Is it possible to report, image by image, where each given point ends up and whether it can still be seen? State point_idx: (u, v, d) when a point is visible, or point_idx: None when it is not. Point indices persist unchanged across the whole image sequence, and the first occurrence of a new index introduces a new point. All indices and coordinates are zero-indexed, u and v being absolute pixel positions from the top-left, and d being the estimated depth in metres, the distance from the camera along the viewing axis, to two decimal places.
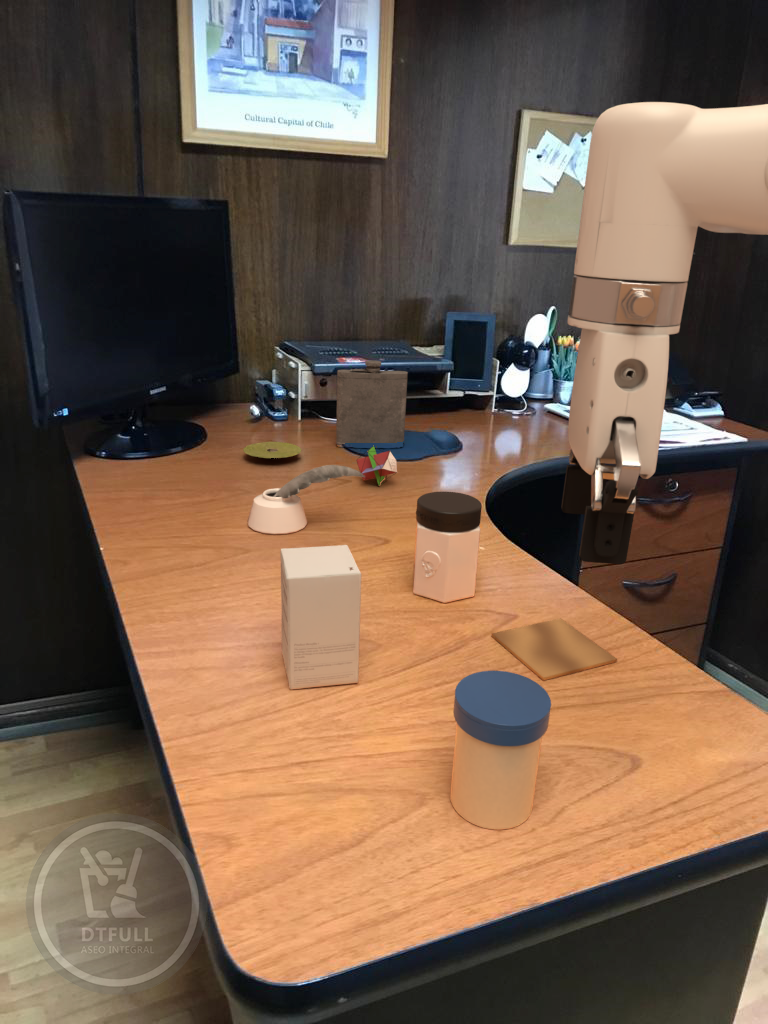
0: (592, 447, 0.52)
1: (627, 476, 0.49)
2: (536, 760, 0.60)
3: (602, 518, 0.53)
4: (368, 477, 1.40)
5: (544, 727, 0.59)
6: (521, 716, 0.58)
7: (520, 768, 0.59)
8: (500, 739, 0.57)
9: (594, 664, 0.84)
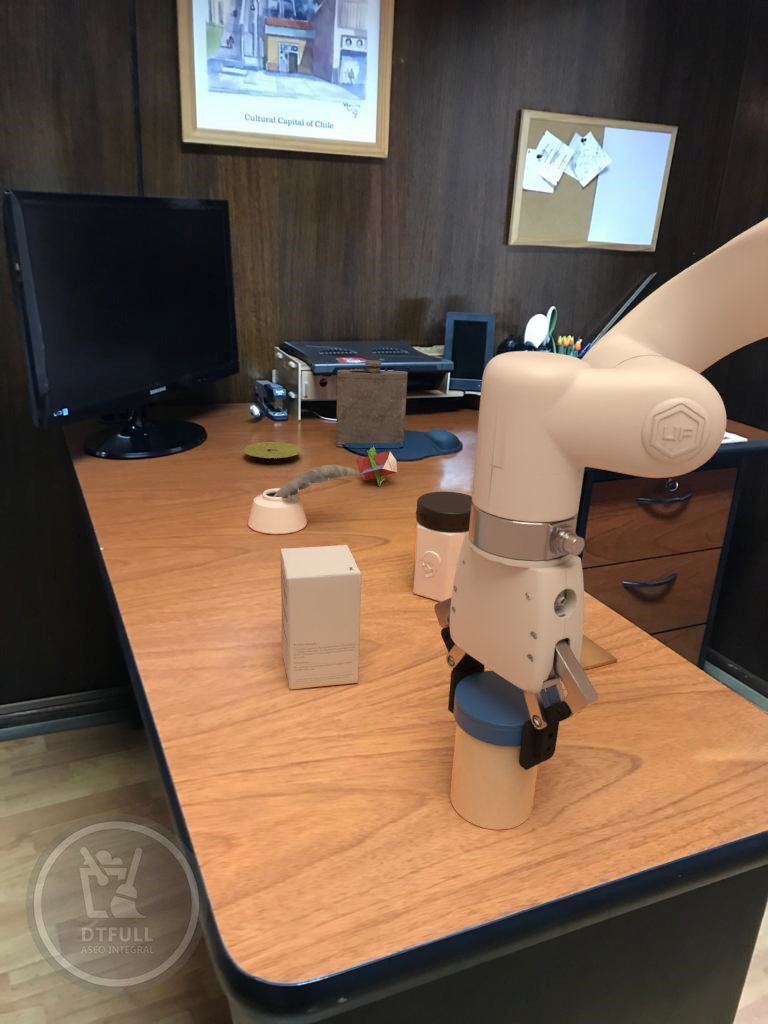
0: (539, 673, 0.54)
1: (586, 706, 0.53)
2: None
3: (545, 731, 0.56)
4: (368, 477, 1.40)
5: None
6: (521, 716, 0.58)
7: (520, 768, 0.59)
8: (500, 739, 0.57)
9: (594, 664, 0.84)
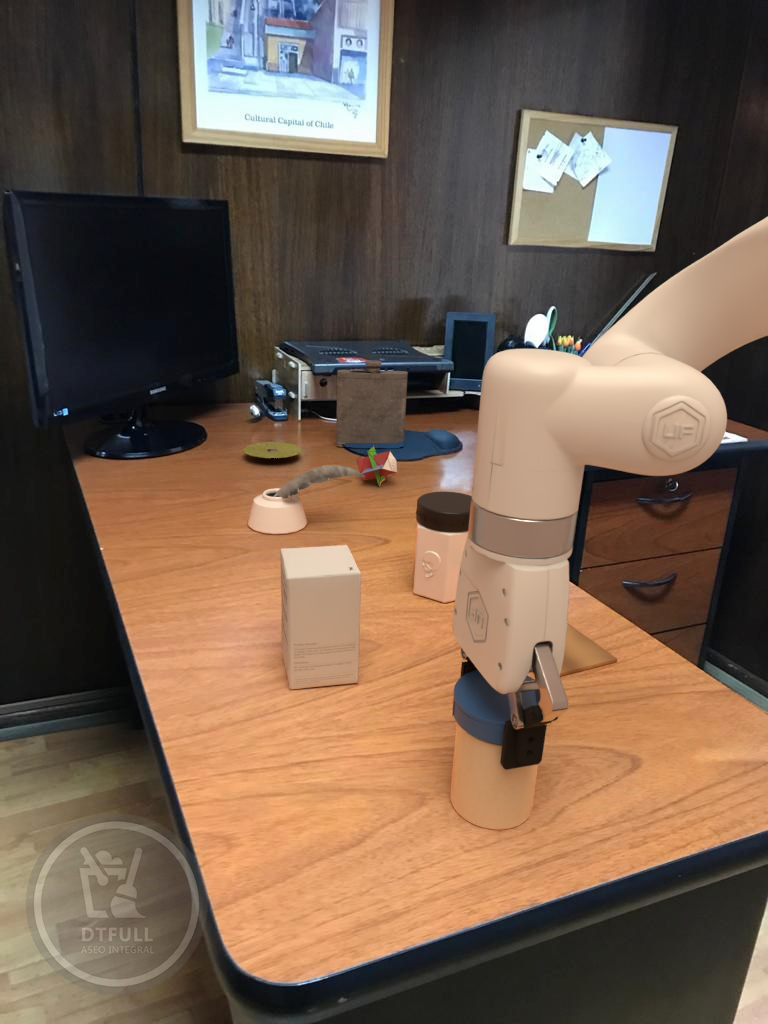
0: None
1: None
2: None
3: None
4: (368, 477, 1.40)
5: None
6: None
7: (520, 768, 0.59)
8: None
9: (594, 664, 0.84)
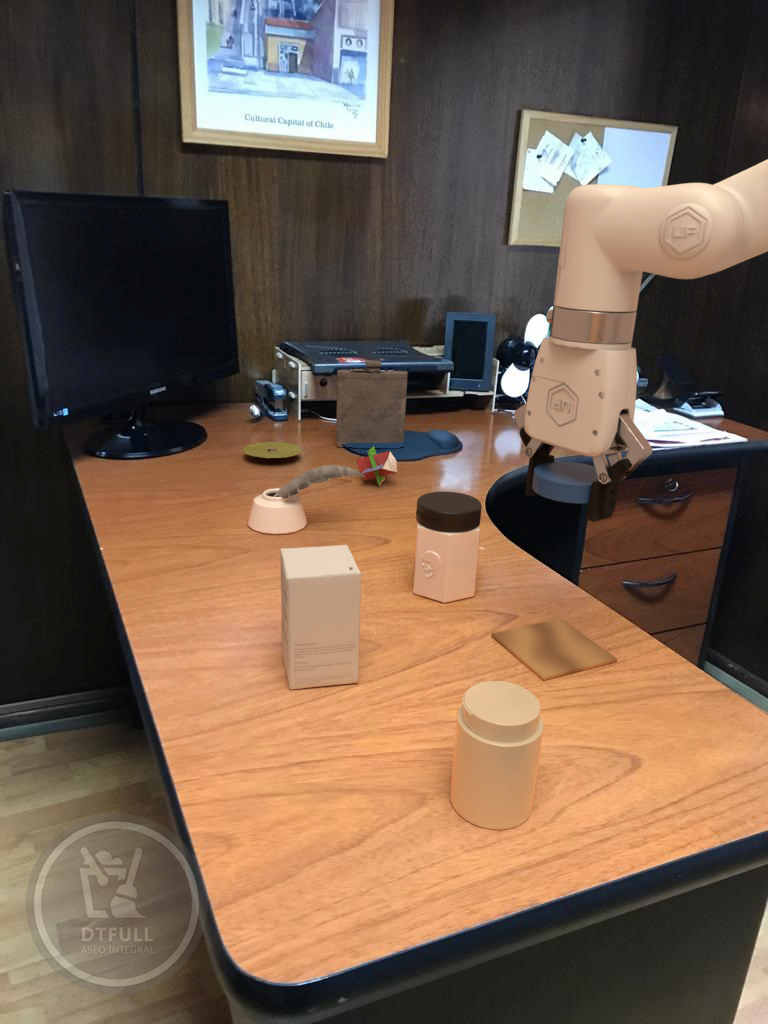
0: None
1: None
2: (536, 760, 0.60)
3: None
4: (368, 477, 1.40)
5: None
6: (556, 464, 0.79)
7: (520, 768, 0.59)
8: None
9: (594, 664, 0.84)
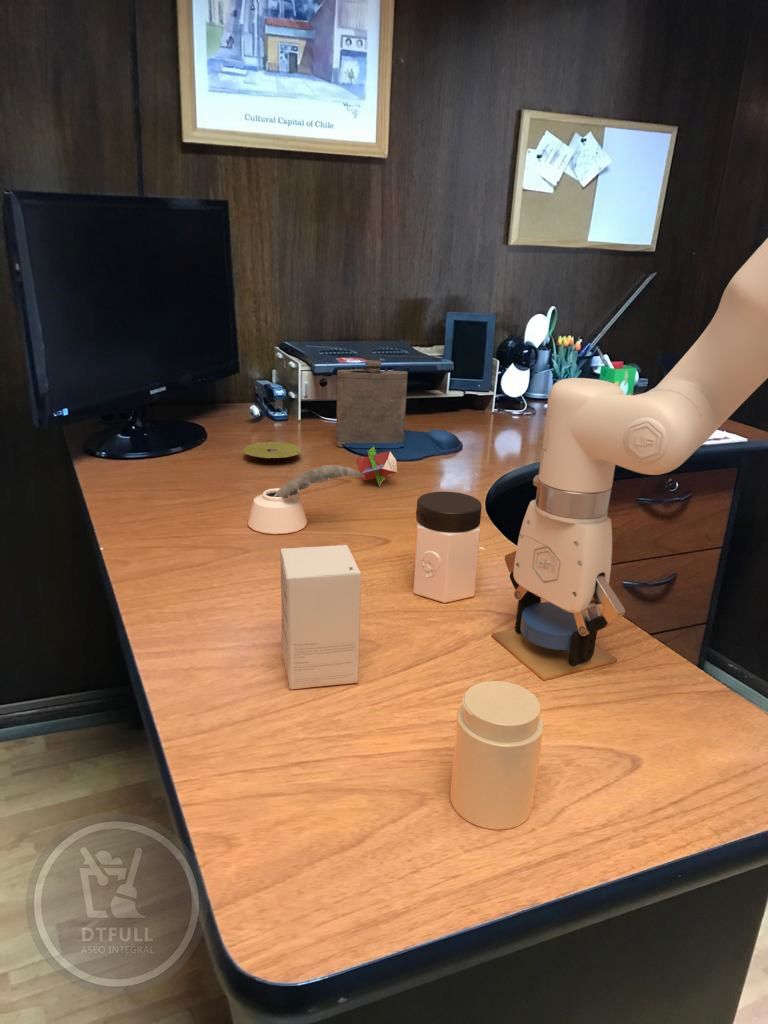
0: None
1: None
2: (536, 760, 0.60)
3: None
4: (368, 477, 1.40)
5: None
6: (542, 606, 0.88)
7: (520, 768, 0.59)
8: None
9: (594, 664, 0.84)
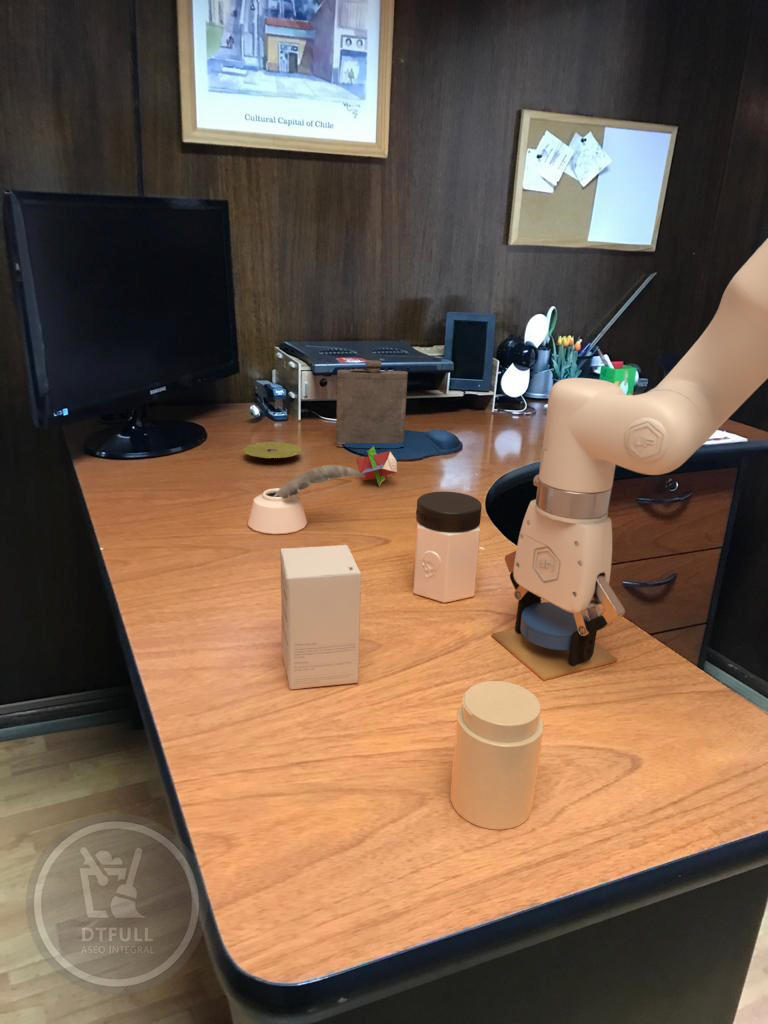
0: None
1: None
2: (536, 760, 0.60)
3: None
4: (368, 477, 1.40)
5: None
6: (542, 606, 0.88)
7: (520, 768, 0.59)
8: None
9: (594, 664, 0.84)
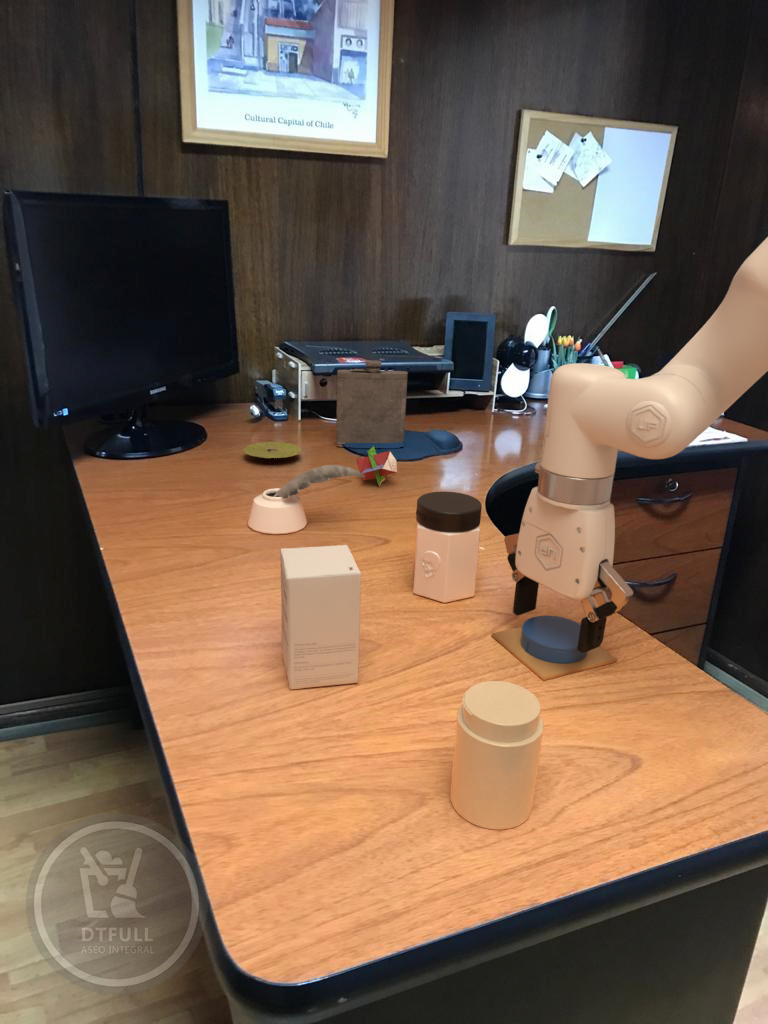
0: None
1: None
2: (536, 760, 0.60)
3: None
4: (368, 477, 1.40)
5: None
6: (542, 619, 0.89)
7: (520, 768, 0.59)
8: None
9: (594, 664, 0.84)
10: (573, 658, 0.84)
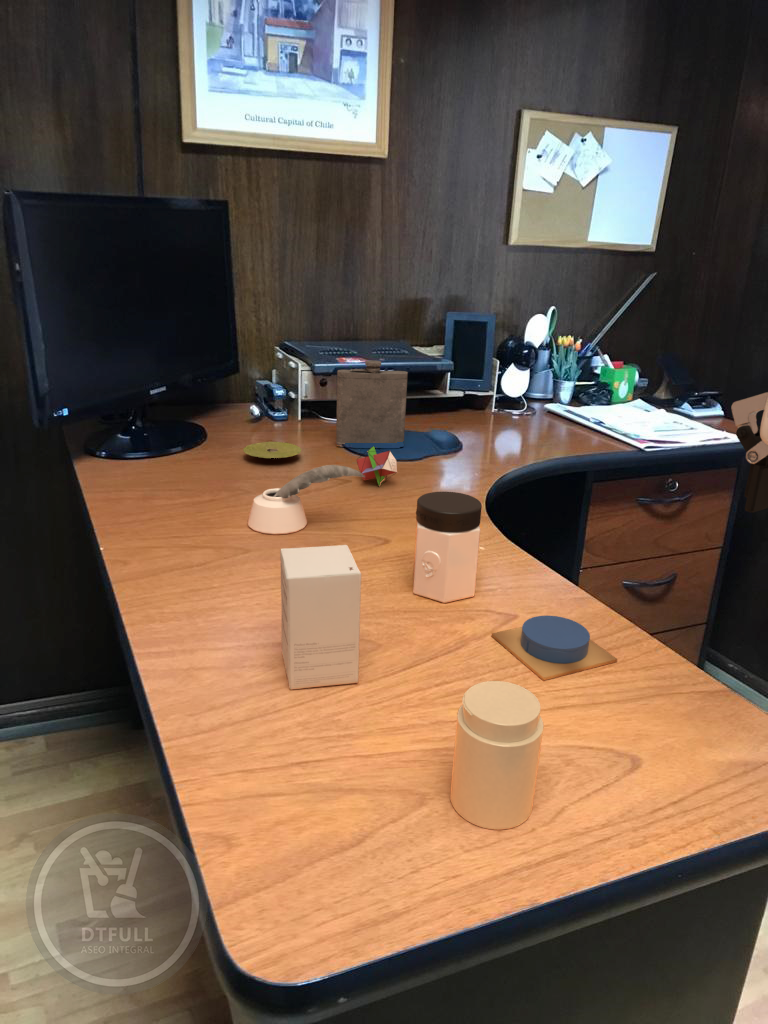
0: None
1: None
2: (536, 760, 0.60)
3: None
4: (368, 477, 1.40)
5: None
6: (542, 619, 0.89)
7: (520, 768, 0.59)
8: None
9: (594, 664, 0.84)
10: (573, 658, 0.84)
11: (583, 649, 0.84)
